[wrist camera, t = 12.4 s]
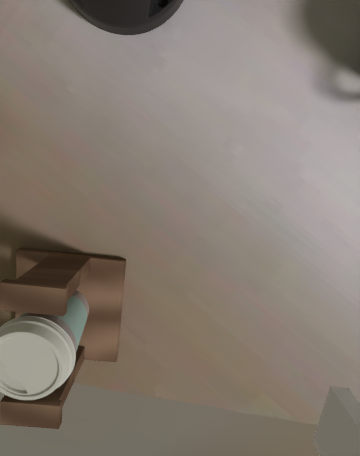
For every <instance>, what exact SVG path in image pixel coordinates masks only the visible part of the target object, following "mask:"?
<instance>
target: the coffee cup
mask: <svg viewBox="0 0 360 456" xmlns="http://www.w3.org/2000/svg"><path fill="white" fill-rule="evenodd" d="M88 314H89V304H88V302H87V300H86V298H85V297H84V296H83V295H82V294H81V293H80V292H78V291H76V290H75V292H74V293H73V294H72V296H71V297H70V298H69V299H68V301H67V313H66V314H65V315H64V316H57V315H46V314H36V313H23V314H22V315H20V316H19V317H18V318H15V319H12V320H10V321H8V322H6V323H5V324H3V325H2V326H1V327H0V392H2V393H3V394H5V395H7V396H9V397H12V398H15V399H19V400H36V399H40V398H42V397H45V396H47V395H49V394H50V393H52V392H53V391H54V390H55V389H57V388H58V387H59V386H61V385H62V384H63V383H64V382H65V381H66V379H67V378H68V377H69V376H70V374H71V373H72V371H73V368H74V366H75V361H76V351H77V348H78V345H79V342H80V339H81V336H82V333H83V330H84V327H85V323H86V320H87V317H88Z"/></svg>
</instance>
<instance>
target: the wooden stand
mask: <svg viewBox="0 0 360 456" xmlns="http://www.w3.org/2000/svg"><path fill="white" fill-rule="evenodd" d="M125 266H126V259H120V258H110V257H101V256H92V255H82V254H73V253H64V252H54V251H45V250H36V249H26V248H19V249H17V250H16V280H6V279H5V280H3V281H2V282H0V310H4V311H15V318H18V317H19V316H20V315H22V314H23V313H36V314H46V315H57V316H64V315H65V314H66V313H67V301H68V299H69V298H70V297H71V296H72V294H73V293H74V292H75V290H76V291H78V292H80V293H81V294H82V295H83V296H84V297H85V298H86V300H87V302H88V304H89V314H88V317H87V320H86V323H85V327H84V330H83V333H82V336H81V339H80V342H79V345H78V348H77V351H76V361H75V366H74V368H73V371H72V373H71V374H70V376H69V377H68V378H67V379H66V381H65V382H64V383H63V384H62V385H61V386H59V387H58V388H57V389H55V390H54V391H53V392H52V393H50V394H49V395H47V396H45V397H42V398H40V399H36V400H19V399H15V398H12V397H9V396H4V397H3V398H2V400H1V401H0V424H2V425H14V426H28V427H41V428H54V429H59V427H60V425H61V422H62V407H63V404H64V402H65V400H66V398H67V395H68V393H69V391H70V389H71V387H72V385H73V382H74V380H75V378H76V376H77V374H78V371H79V369H80V367H81V365H82V363H83V360H84V359H87V360H98V361H109V362H116V361H117V356H118V345H119V333H120V322H121V311H122V300H123V288H124V277H125Z"/></svg>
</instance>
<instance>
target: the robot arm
mask: <svg viewBox="0 0 360 456" xmlns="http://www.w3.org/2000/svg"><path fill="white" fill-rule="evenodd" d="M70 1H71V3H72V4H73V6H74V7H75V8H76V9H77V11H78V12H79V13H80V14H81V15H82V16H83V17H84V18H86V19H87V20H88V21H89V22H91V23H92V24H94V25H95V26H97V27H99V28H101V29H103V30H105V31H108V32H111V33H115V34H121V35H136V34H141V33H145V32H148V31H151V30H153V29H155V28H157V27H159V26H160V25H162V24H163V23H165V22H166V21H167V20H168V19H169V18H170V17H171V16H172V15H173V14H174V13H175V12H176V11H177V9H178V8H179V7H180V5H181V3H182V2H183V0H70ZM313 442H314V444H315V446H316V448H317V450H318V452H319V454H320V456H360V403H359V401H358V400H357V399H356V397H355V396H354V395H353V393H352V392H351V391H350V390H349V388H342V387H334V386H330V389H329V392H328V395H327V398H326V402H325V405H324V408H323V411H322V414H321V417H320V420H319V423H318V426H317V429H316V432H315V436H314V439H313Z"/></svg>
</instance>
